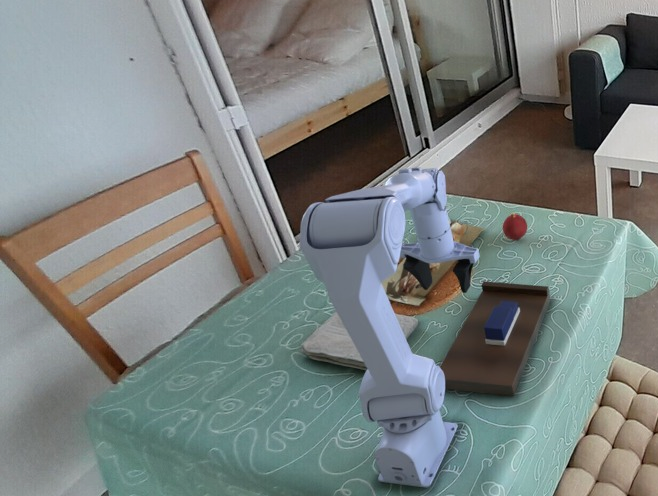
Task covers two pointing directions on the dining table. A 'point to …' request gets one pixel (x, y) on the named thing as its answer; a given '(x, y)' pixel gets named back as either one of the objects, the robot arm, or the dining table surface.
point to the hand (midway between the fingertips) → (447, 287)
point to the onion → (514, 227)
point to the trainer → (501, 323)
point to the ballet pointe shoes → (407, 286)
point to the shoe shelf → (495, 360)
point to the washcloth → (343, 342)
